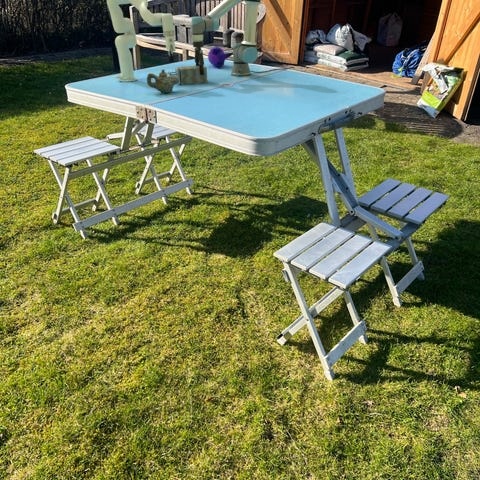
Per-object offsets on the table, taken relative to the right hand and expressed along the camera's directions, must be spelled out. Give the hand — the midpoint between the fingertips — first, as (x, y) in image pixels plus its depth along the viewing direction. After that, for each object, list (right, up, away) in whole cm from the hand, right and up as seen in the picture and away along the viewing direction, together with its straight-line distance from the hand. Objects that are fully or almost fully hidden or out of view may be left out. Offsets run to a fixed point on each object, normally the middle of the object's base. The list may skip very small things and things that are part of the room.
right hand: (200, 73), depth 329 cm
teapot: (-22, -23, -26) cm, 41 cm away
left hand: (-19, +5, -11) cm, 22 cm away
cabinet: (-5, -6, +1) cm, 8 cm away
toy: (+12, +27, +57) cm, 65 cm away
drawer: (-10, -6, 0) cm, 12 cm away
